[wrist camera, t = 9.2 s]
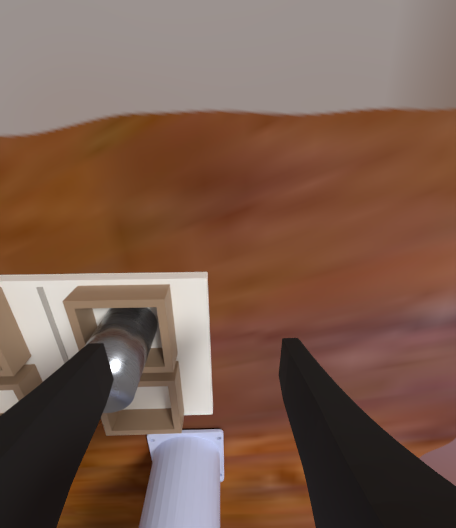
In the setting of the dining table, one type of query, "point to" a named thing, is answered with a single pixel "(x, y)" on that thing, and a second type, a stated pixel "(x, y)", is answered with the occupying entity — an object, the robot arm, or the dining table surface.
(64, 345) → the white board with compartments
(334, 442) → the robot arm
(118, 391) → the steel pin
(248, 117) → the dining table surface
